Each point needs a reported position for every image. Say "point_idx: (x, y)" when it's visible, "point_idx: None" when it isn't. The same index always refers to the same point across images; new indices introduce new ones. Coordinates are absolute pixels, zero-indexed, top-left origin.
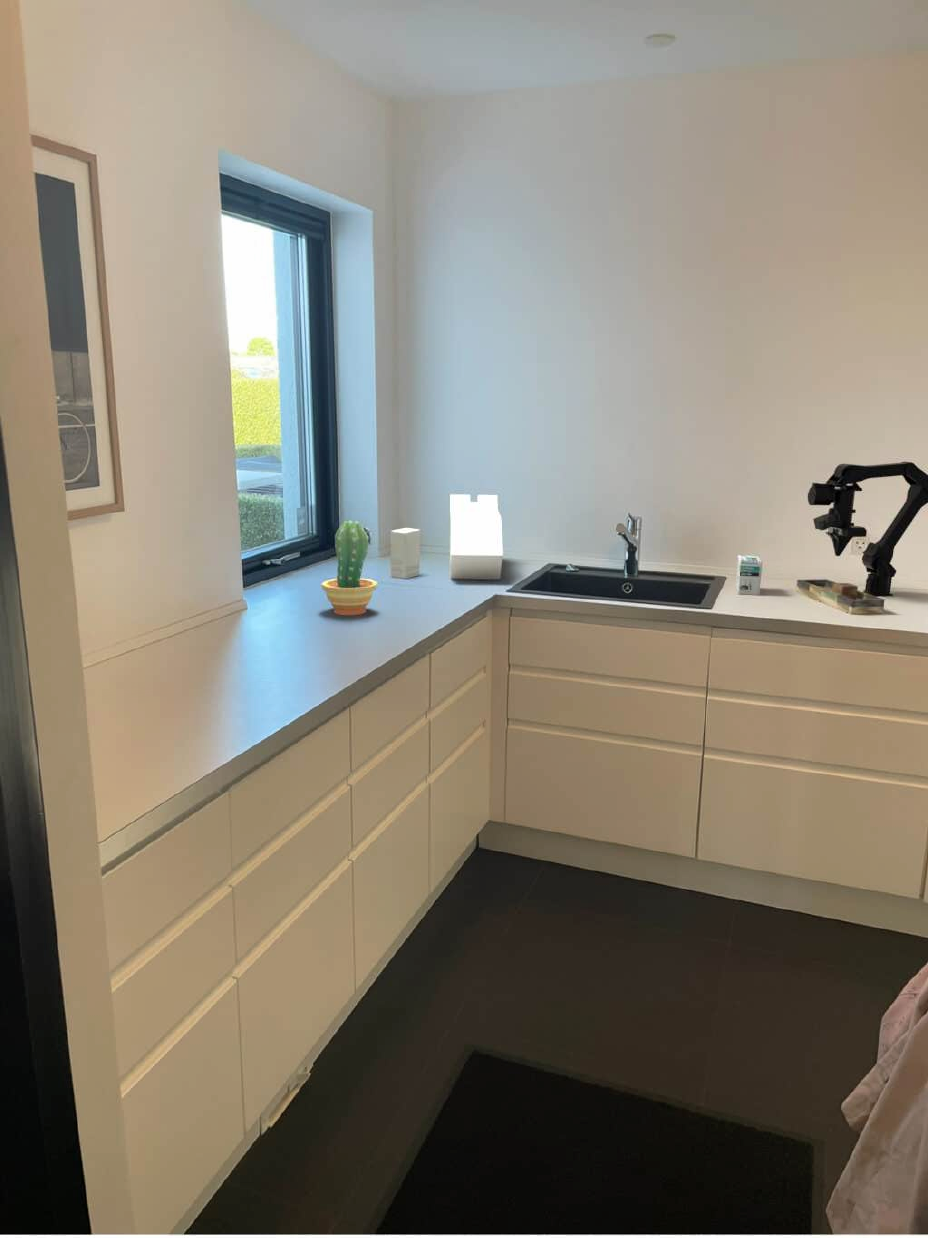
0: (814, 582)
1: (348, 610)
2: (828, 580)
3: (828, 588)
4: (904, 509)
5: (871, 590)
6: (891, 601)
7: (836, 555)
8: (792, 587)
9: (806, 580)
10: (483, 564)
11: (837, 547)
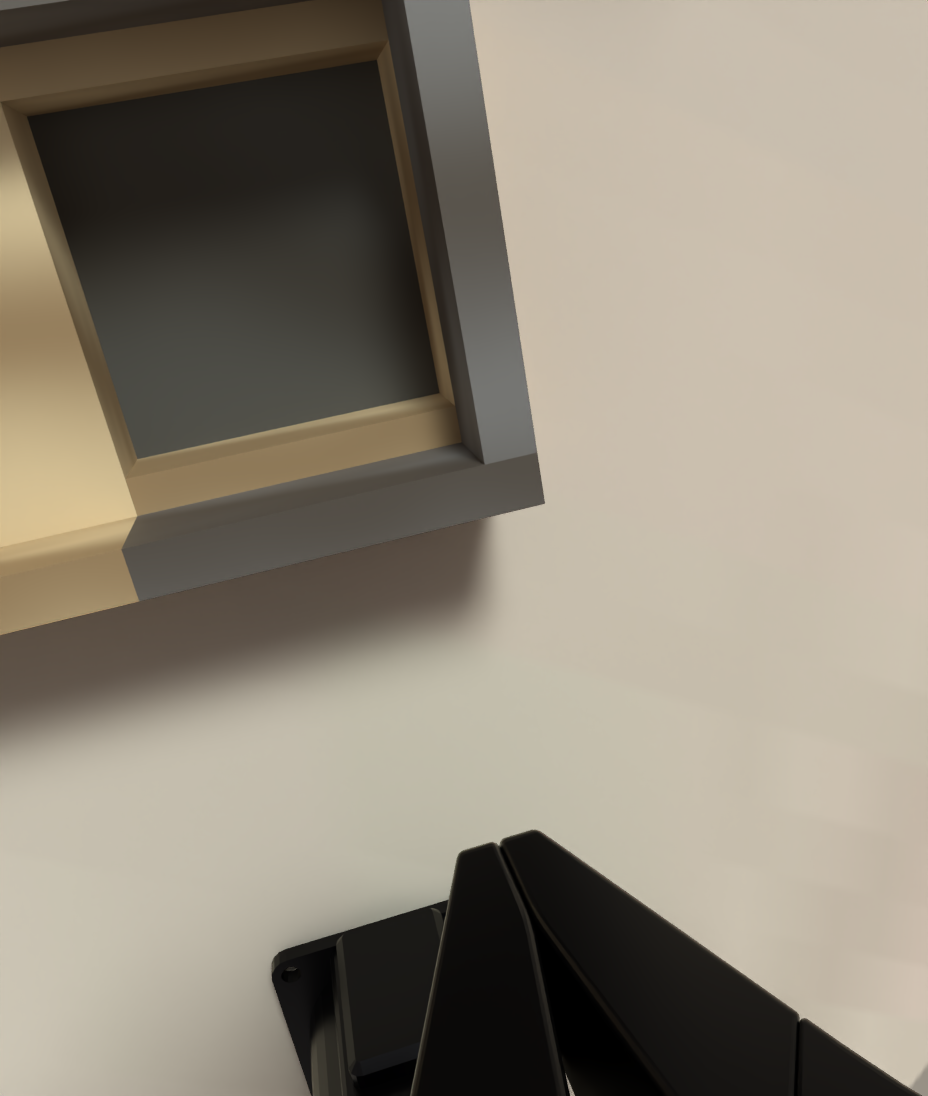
0: (443, 257)
1: None
2: (445, 503)
3: (287, 443)
4: None
5: (338, 970)
6: (2, 1058)
7: (475, 849)
8: (777, 65)
9: (415, 69)
10: None
11: (431, 1085)
